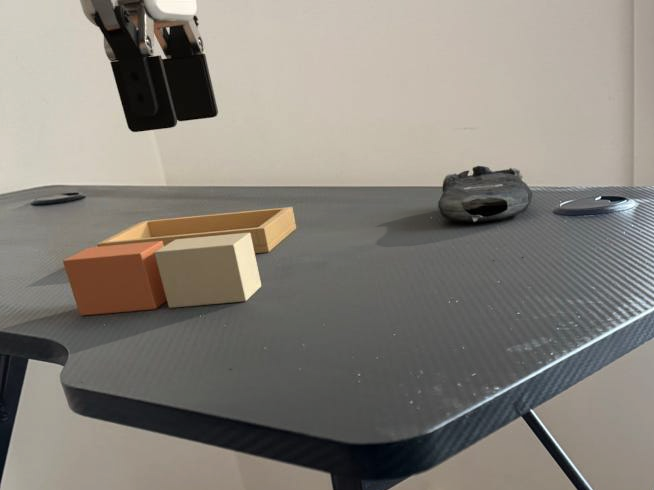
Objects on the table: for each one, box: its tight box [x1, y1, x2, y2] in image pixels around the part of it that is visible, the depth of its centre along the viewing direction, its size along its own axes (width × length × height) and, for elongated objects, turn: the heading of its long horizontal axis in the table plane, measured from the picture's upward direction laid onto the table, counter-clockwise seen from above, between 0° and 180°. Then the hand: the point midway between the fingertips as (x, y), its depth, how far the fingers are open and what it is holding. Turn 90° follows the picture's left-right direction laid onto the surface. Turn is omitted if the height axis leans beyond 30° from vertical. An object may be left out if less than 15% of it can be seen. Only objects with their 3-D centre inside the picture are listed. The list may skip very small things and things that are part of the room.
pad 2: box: [154, 233, 262, 309], centre depth 71 cm, size 6×5×4 cm
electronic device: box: [437, 165, 533, 224], centre depth 93 cm, size 9×6×15 cm
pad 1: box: [62, 241, 167, 317], centre depth 71 cm, size 6×5×4 cm
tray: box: [96, 206, 297, 254], centre depth 92 cm, size 16×13×2 cm
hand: (177, 123), depth 65 cm, fingers open, 9 cm apart
